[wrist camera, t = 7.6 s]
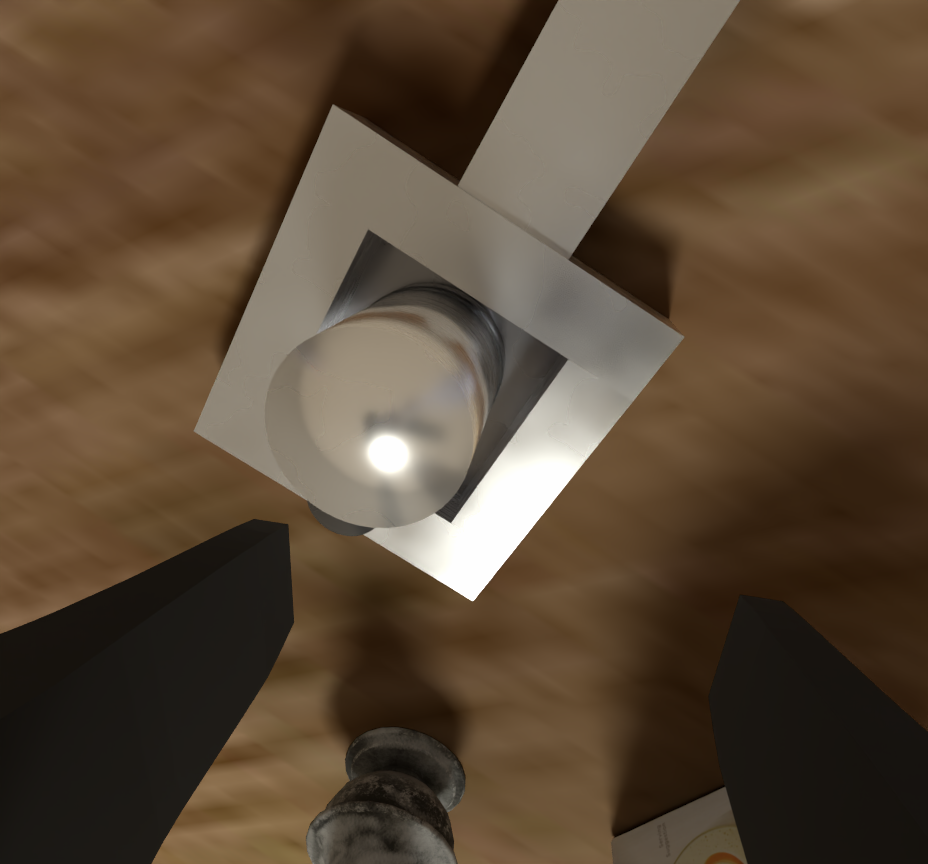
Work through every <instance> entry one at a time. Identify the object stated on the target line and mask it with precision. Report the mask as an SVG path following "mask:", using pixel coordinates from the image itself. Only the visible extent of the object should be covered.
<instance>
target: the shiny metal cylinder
mask: <svg viewBox="0 0 928 864" xmlns="http://www.w3.org/2000/svg"><path fill="white" fill-rule="evenodd" d="M504 368H505V353H504V347H503V342H502V339H501V336H500V333H499V331H498V329H497V326H496V324H495V323H494V321H493V320H492V318H491V316H490V315H489V314H488V313H487V312H486V310H485V309H484V308H483V307H482V306H481V305H480V304H479V303H478V302H477V301H475V300H474V299H473V298H471V297H470V296H469V295H467V294H465V293H463V292H461V291H460V290H457V289H455V288H452V287H450V286H446V285H441V284H435V283H418V284H412V285H408V286H405V287H402V288H399V289H397V290H395V291H393V292H391V293H389V294H387V295H385V296H383V297H381V298H380V299H378V300H377V301H376V302H374V303H373V304H372V305H370V306H369V307H367V308H365V309H363V310H361V311H359V312H357V313H356V314H354V315H352V316H350V317H348V318H346V319H344V320H342V321H341V322H339V323H337V324H335V325H333V326H331V327H329V328H327V329H326V330H324V331H322V332H320V333H318V334H316V335H314V336H313V337H311V338H309V339H307V340H305V341H304V342H303V343H301V344H300V345H298V346H297V347H295V348H294V349H293V350H292V351H291V352H290V353H289V354H288V355H287V356H286V357H285V359H284V360H283V361H282V363H281V364H280V365H279V367H278V368H277V370H276V372H275V374H274V376H273V377H272V380H271V383H270V386H269V388H268V392H267V397H266V402H265V427H266V432H267V437H268V441H269V444H270V448H271V451H272V453H273V455H274V458H275V460H276V462H277V464H278V466H279V467H280V469H281V471H282V472H283V474H284V475H285V477H286V478H287V479H288V481H289V482H290V483H291V485H292V486H293V487H294V488H295V489H296V490H297V491H298V492H299V493H300V494H301V495H302V496H303V497H304V498H305V499H307V500H308V501H309V502H310V503H311V504H313V505H314V506H316V507H317V508H319V509H320V510H322V511H323V512H325V513H327V514H329V515H331V516H333V517H335V518H337V519H340V520H342V521H345V522H348V523H351V524H355V525H359V526H365V527H371V528H392V527H400V526H405V525H409V524H412V523H415V522H418V521H421V520H423V519H425V518H427V517H429V516H431V515H432V514H434V513H435V512H437V511H438V510H440V509H441V508H442V507H443V506H444V505H445V504H446V503H448V502H449V501H450V500H451V499H452V497H453V496H454V495H455V493H456V492H457V491H458V490H459V488H460V486H461V484H462V483H463V481H464V479H465V477H466V474H467V472H468V469H469V466H470V464H471V461H472V458H473V455H474V453H475V450H476V447H477V444H478V442H479V439H480V436H481V433H482V431H483V428H484V425H485V422H486V420H487V417H488V414H489V411H490V409H491V407H492V406H493V404H494V402H495V399H496V397H497V394H498V392H499V389H500V386H501V383H502V379H503V375H504Z"/></svg>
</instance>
